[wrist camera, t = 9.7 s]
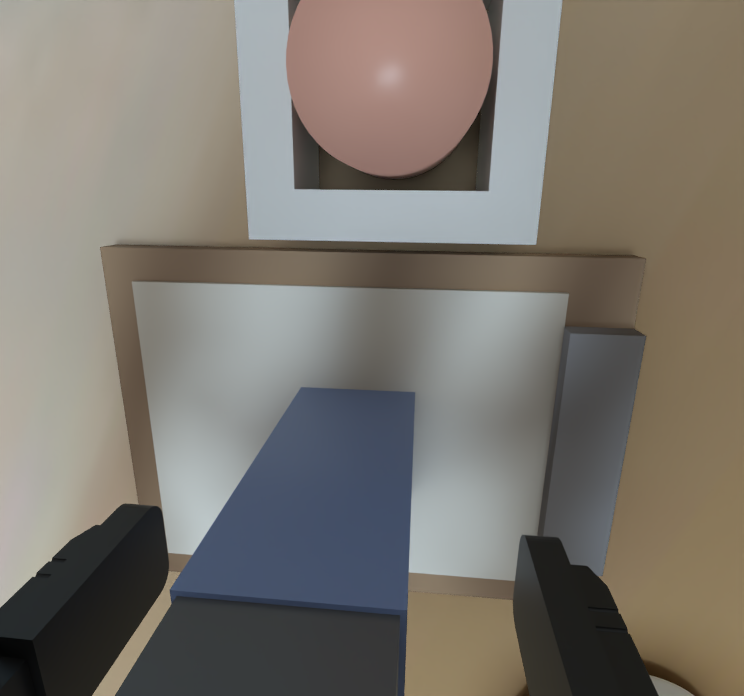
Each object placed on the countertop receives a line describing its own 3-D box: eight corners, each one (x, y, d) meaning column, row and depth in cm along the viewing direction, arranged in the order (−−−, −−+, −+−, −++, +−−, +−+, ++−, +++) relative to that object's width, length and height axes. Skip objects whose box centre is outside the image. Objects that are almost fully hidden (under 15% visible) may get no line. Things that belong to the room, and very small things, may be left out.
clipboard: (634, 255, 14) (659, 262, 13) (578, 588, 18) (593, 625, 16) (115, 244, 16) (82, 249, 14) (159, 554, 19) (136, 585, 18)
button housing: (539, -47, 12) (575, -121, 9) (513, 236, 14) (536, 245, 12) (270, -38, 13) (227, -105, 10) (281, 231, 15) (249, 239, 12)
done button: (482, 0, 11) (502, -66, 9) (470, 180, 13) (484, 174, 10) (315, 4, 12) (281, -58, 9) (318, 178, 13) (290, 172, 10)
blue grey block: (414, 392, 15) (402, 723, 6) (411, 493, 16) (396, 917, 7) (301, 387, 15) (103, 691, 6) (304, 486, 16) (142, 881, 7)
